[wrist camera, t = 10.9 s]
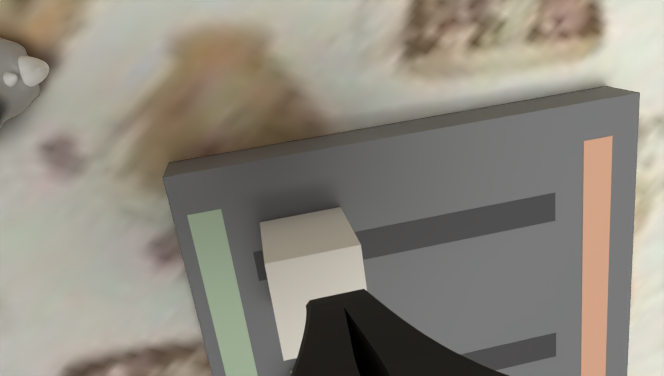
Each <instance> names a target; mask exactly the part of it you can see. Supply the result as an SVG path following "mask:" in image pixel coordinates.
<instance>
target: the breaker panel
mask: <svg viewBox="0 0 664 376" xmlns="http://www.w3.org/2000/svg"><path fill="white" fill-rule="evenodd" d="M639 99H640V93H639V92H634V91H628V90H623V89H618V88H613V87H608V86H605V87H599V88H593V89H588V90H582V91H576V92H571V93H565V94H559V95H553V96H548V97H542V98H536V99H531V100H525V101H519V102H514V103H508V104H502V105H496V106H491V107H485V108H479V109H474V110H468V111H462V112H457V113H451V114H445V115H439V116H434V117H428V118H422V119H417V120H411V121H405V122H400V123H394V124H388V125H382V126H377V127H371V128H365V129H360V130H354V131H348V132H342V133H337V134H331V135H325V136H320V137H314V138H308V139H303V140H297V141H291V142H285V143H280V144H274V145H268V146H263V147H257V148H251V149H246V150H240V151H234V152H228V153H223V154H217V155H211V156H206V157H200V158H194V159H189V160H183V161H177V162H171V163H169V165H168V167H167V169H166V172H165V174H164V176H163V180H164V184H165V188H166V192H167V196H168V200H169V204H170V208H171V212H172V216H173V220H174V224H175V228H176V232H177V236H178V240H179V244H180V248H181V252H182V256H183V260H184V264H185V268H186V272H187V276H188V280H189V284H190V288H191V292H192V296H193V300H194V304H195V308H196V312H197V315H198V319H199V323H200V327H201V331H202V335H203V339H204V343H205V347H206V351H207V355H208V359H209V363H210V367H211V371H212V375H213V376H291V373H290V371H292V370H293V368H294V365H295V362H296V359H297V358H294V359H290V360H285V361H284V360H283V355H282V350H281V345H280V340H279V335H278V330H277V325H276V320H275V315H274V310H273V305H272V300H271V295H270V290H269V285H268V279H267V274H266V269H265V264H264V256H263V247H262V238H261V230H260V222H264V221H270V220H275V219H280V218H285V217H291V216H296V215H301V214H306V213H311V212H317V211H322V210H327V209H332V208H338V207H341V209H342V211H343V213H344V214H345V216H346V218H347V220H348V222H349V224H350V225H351V227H352V229H353V231H354V233H355V235H356V236H357V238H358V240H359V242H360V244H361V249H362V256H363V264H364V271H365V279H366V286H367V291H368V292H369V293H370V294H371V295H373V296H374V297H375V298H376V299H378V300H379V301H380V302H381V303H382V304H384V305H385V306H386V307H387V308H389V309H390V310H391V311H393V312H394V313H395V314H396V315H398V316H399V317H400V318H402V319H403V320H405V321H406V322H407V323H409V324H410V325H412V326H413V327H414V328H416V329H417V330H419V331H420V332H422V333H423V334H425V335H426V336H428V337H430V338H431V339H433V340H435V341H436V342H438V343H440V344H441V345H443V346H445V347H447V348H448V349H450V350H452V351H454V352H456V353H458V354H460V355H462V356H464V357H466V358H468V359H470V360H473V361H475V362H477V363H479V364H481V365H483V366H486V367H488V368H490V369H493V370H495V371H498V372H500V373H503V374H506V375H509V376H627V365H628V343H629V321H630V299H631V276H632V254H633V232H634V210H635V188H636V166H637V144H638V121H639Z"/></svg>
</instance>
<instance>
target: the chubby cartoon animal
mask: <svg viewBox="0 0 664 376" xmlns="http://www.w3.org/2000/svg"><path fill="white" fill-rule="evenodd" d="M48 73H49V66H48V64H47V63H46V62H44V61H42V60H40V59H38V58H34V57H29V56H28V55H27V53H26V50H25V48H24V47H23V46H22V45H20V44H18V43H16V42H13V41H9V40H6V39H3V38H0V129H1V127H2V125H3V123H4V122H5V121H6V120H8V119H10V118H12V117H15V116H17V115H19V114H20V113H22V112H23V111H24V110H25V109H26V108H27V107H28V106H29V105H30V104H31V103H32V101H33V100H34V99H35V98H37V97H38V96H39V95H40V86H39V83H40V82H42V81H43V80H44V79H45V78H46V77H47V75H48Z"/></svg>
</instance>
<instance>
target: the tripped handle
mask: <svg viewBox="0 0 664 376" xmlns="http://www.w3.org/2000/svg"><path fill="white" fill-rule="evenodd" d="M260 230H261V238H262V247H263V256H264V264H265V269H266V274H267V279H268V285H269V290H270V295H271V300H272V305H273V310H274V315H275V320H276V325H277V330H278V335H279V340H280V345H281V350H282V355H283V360H284V361H285V360H290V359H294V358H297V356H298V353H299V349H300V346H301V342H302V338H303V334H304V329H305V323H306V305H307V303H308V302H309V301H310V300H313V299H317V298H322V297H327V296H332V295H336V294H341V293H346V292H351V291H356V290H360V289H365V290H366V291H367V286H366V279H365V271H364V264H363V256H362V249H361V244H360V242H359V240H358V238H357V236H356V235H355V233H354V231H353V229H352V227H351V225H350V224H349V222H348V220H347V218H346V216H345V214H344V213H343V211H342V209H341V207H338V208H332V209H327V210H322V211H317V212H311V213H306V214H301V215H296V216H291V217H285V218H280V219H275V220H270V221H264V222H260Z"/></svg>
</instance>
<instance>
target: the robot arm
mask: <svg viewBox="0 0 664 376" xmlns="http://www.w3.org/2000/svg"><path fill="white" fill-rule="evenodd" d="M291 376H509V375H506V374H503V373H500V372H498V371H495V370H493V369H490V368H488V367H486V366H483V365H481V364H479V363H477V362H475V361H473V360H470V359H468V358H466V357H464V356H462V355H460V354H458V353H456V352H454V351H452V350H450V349H448V348H447V347H445V346H443V345H441V344H440V343H438V342H436V341H435V340H433V339H431V338H430V337H428V336H426V335H425V334H423V333H422V332H420V331H419V330H417V329H416V328H414V327H413V326H412V325H410V324H409V323H407V322H406V321H405V320H403V319H402V318H400V317H399V316H398V315H396V314H395V313H394V312H393V311H391V310H390V309H389V308H387V307H386V306H385V305H384V304H382V303H381V302H380V301H379V300H378V299H376V298H375V297H374V296H373V295H371V294H370V293H369V292H368V291H366V290H365V289H360V290H356V291H351V292H346V293H341V294H336V295H332V296H327V297H322V298H317V299H313V300H310V301H309V302H308V303H307V305H306V323H305V329H304V334H303V338H302V342H301V346H300V349H299V353H298V356H297V359H296V362H295V365H294V368H293V370H292V373H291Z"/></svg>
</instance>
